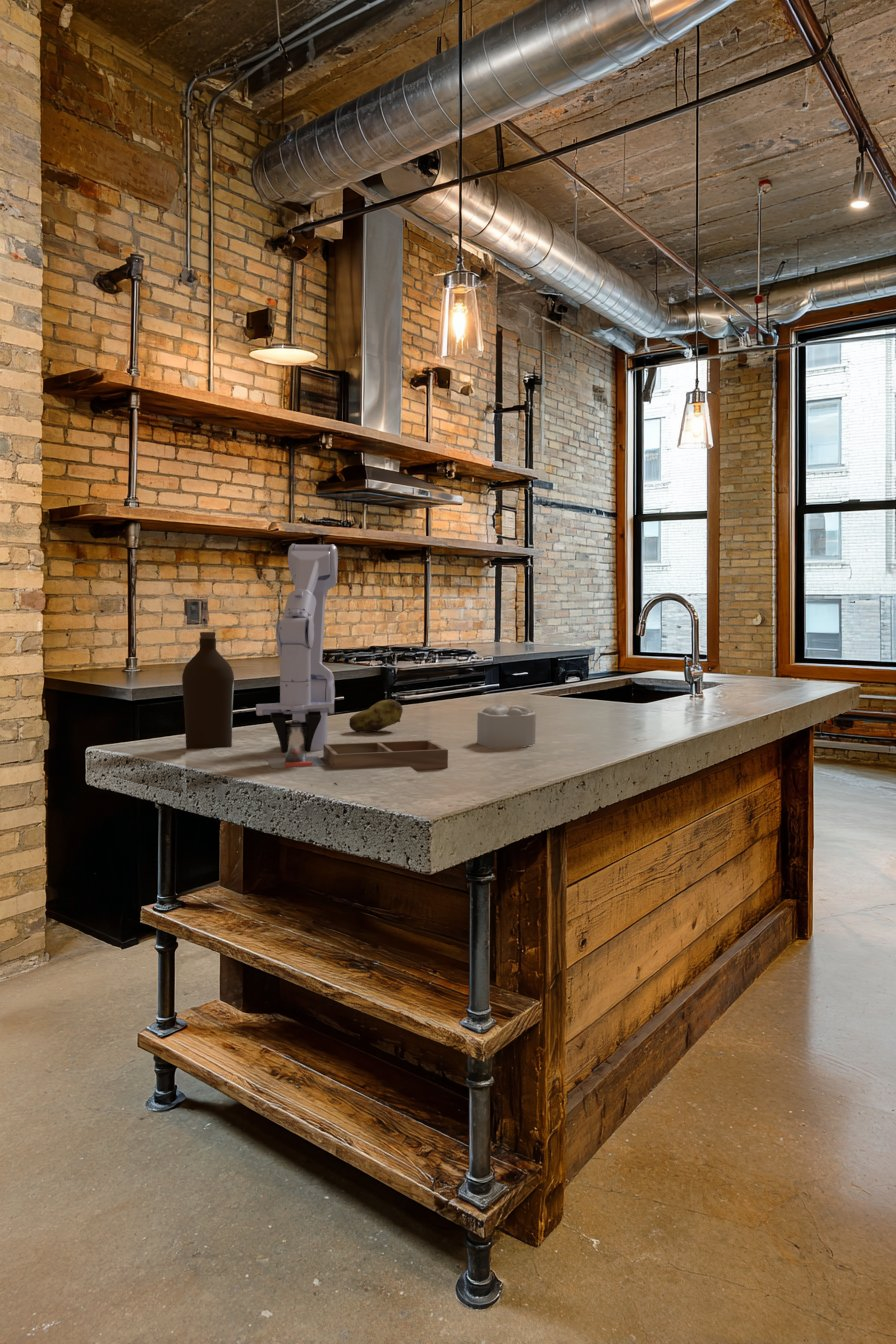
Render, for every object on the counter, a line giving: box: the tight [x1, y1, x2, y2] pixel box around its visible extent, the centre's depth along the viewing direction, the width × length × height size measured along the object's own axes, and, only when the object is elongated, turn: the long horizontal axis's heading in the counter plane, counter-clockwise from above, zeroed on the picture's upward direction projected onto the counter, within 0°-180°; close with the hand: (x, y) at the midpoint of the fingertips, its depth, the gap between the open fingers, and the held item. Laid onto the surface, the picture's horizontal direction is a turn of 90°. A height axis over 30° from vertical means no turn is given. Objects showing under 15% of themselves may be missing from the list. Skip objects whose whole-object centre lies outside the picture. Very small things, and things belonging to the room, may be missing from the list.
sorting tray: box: [322, 739, 449, 770], centre depth 163 cm, size 12×22×4 cm, turn 108°
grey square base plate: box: [266, 755, 327, 769], centre depth 160 cm, size 10×10×2 cm
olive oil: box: [181, 631, 235, 750], centre depth 178 cm, size 11×11×25 cm
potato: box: [348, 698, 404, 733], centre depth 205 cm, size 8×13×8 cm, turn 91°
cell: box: [284, 719, 307, 763], centre depth 159 cm, size 4×4×8 cm
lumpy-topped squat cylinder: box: [476, 704, 537, 749], centre depth 189 cm, size 10×13×9 cm
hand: (295, 751), depth 159 cm, fingers closed on cell, 4 cm apart
